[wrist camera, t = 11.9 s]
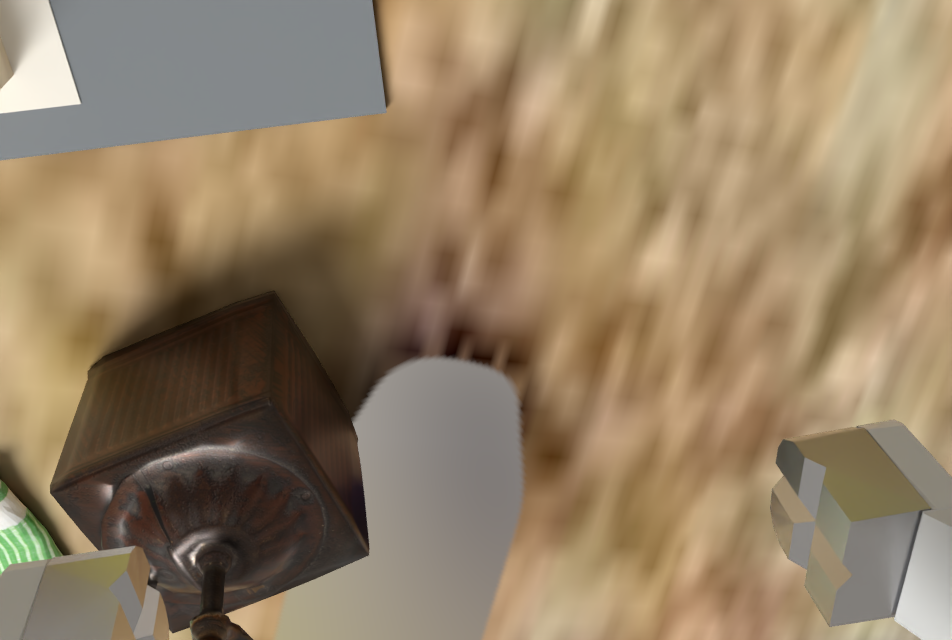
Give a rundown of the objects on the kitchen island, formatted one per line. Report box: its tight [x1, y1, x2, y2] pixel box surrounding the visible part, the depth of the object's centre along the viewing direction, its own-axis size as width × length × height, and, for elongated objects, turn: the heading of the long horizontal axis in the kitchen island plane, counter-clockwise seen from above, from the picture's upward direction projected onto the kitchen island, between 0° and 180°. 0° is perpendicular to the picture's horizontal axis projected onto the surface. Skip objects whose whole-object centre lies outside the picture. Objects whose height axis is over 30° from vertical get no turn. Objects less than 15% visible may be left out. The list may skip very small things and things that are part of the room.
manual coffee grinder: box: [50, 291, 369, 640], centre depth 41 cm, size 16×11×18 cm
